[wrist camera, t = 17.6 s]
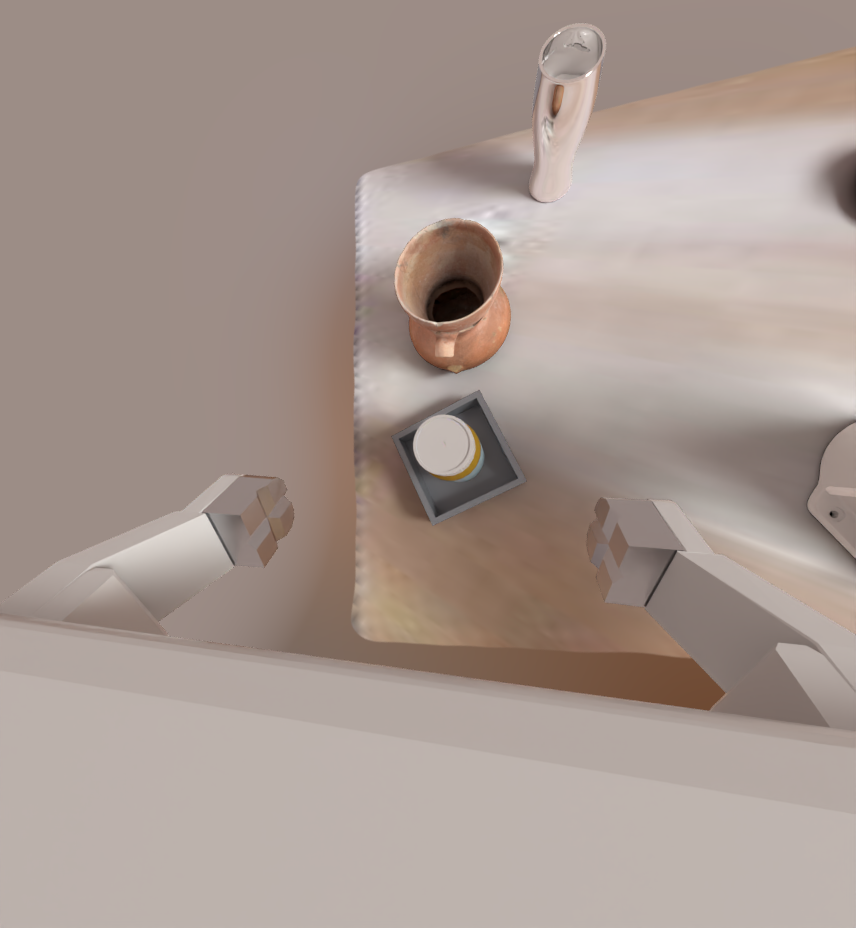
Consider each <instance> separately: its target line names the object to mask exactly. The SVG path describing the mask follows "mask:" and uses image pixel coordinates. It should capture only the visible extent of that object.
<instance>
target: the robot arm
mask: <svg viewBox="0 0 856 928" xmlns="http://www.w3.org/2000/svg"><path fill="white" fill-rule="evenodd" d="M286 491H287V488H286V485H285V483H284V481H283V480H282V479H280V478H278V477H266V476H254V475H241V474H226V475H223V476H221V477H220V478H219V479H218V480H217V481H215V483H213V484H212V485H211V486H210V487H209V488H208V489H206V490H205V491H204V492H203V493H202V494H201V495H200V496H198V497H197V498H196V499H195V500H194V501H193V502H191V503H190V504H189V505H188V506H187V507H186V508H184V509H183V510H182V511H175V512H172V513H170V514H168V515H165V516H163V517H161V518H158V519H156V520H154V521H151V522H149V523H146V524H144V525H142V526H139V527H137V528H135V529H132V530H130V531H128V532H125V533H123V534H121V535H118V536H116V537H113V538H111V539H109V540H107V541H104V542H102V543H99V544H97V545H95V546H92V547H90V548H88V549H85V550H83V551H81V552H78V553H76V554H73V555H71V556H69V557H66V558H64V559H62V560H59V561H57V562H56V563H54V564H53V565H52V566H50V567H49V568H48V569H46V570H45V571H43V572H42V573H41V574H39V575H38V576H37V577H35V578H34V579H33V580H31V581H30V582H29V583H27V584H26V585H25V586H23V587H22V588H21V589H19V590H18V591H16V592H15V593H14V594H12V595H11V596H10V597H8V598H7V599H6V600H4V601H3V602H2V603H0V928H856V634H854V633H852V632H851V631H849V630H847V629H846V628H844V627H842V626H841V625H839V624H837V623H836V622H834V621H832V620H831V619H829V618H827V617H826V616H824V615H822V614H821V613H819V612H817V611H816V610H814V609H812V608H811V607H809V606H807V605H806V604H804V603H802V602H801V601H799V600H797V599H796V598H794V597H792V596H791V595H789V594H787V593H786V592H784V591H782V590H781V589H779V588H777V587H776V586H774V585H773V584H771V583H769V582H768V581H766V580H764V579H763V578H761V577H759V576H758V575H756V574H754V573H753V572H751V571H749V570H748V569H746V568H744V567H743V566H741V565H739V564H738V563H736V562H734V561H733V560H731V559H729V558H728V557H726V556H724V555H722V554H714V553H713V551H712V550H711V549H710V547H709V546H708V545H707V543H706V542H705V541H704V539H703V538H702V537H701V535H700V534H699V533H698V531H697V530H696V529H695V527H694V526H693V525H692V523H691V522H690V521H689V519H688V518H687V517H686V515H685V514H684V513H683V511H682V510H681V509H680V507H679V506H678V505H677V504H676V503H675V502H673V501H671V500H653V499H647V500H639V499H621V498H603V497H601V498H600V499H599V500H598V502H597V504H596V507H595V513H596V515H597V518H598V519H596V520H595V521H593V522H592V523H591V524H590V526H589V529H588V533H587V551H588V555H589V558H590V561H591V563H592V564H594V565H595V566H596V567H597V568H598V569H599V570H598V573H597V576H596V579H597V582H598V585H599V588H600V591H601V594H602V597H603V600H604V602H606V603H614V604H622V605H630V606H638V607H645V610H646V611H647V612H648V613H649V614H650V615H651V616H652V617H653V618H654V619H655V620H656V621H657V622H658V623H659V624H660V625H661V626H662V627H663V628H664V630H665V631H666V632H667V633H668V634H669V635H670V636H671V637H672V638H673V639H674V640H675V641H676V642H677V643H678V644H679V645H680V646H681V647H682V648H683V649H684V650H685V651H686V652H687V653H688V654H689V655H690V656H691V657H692V658H693V659H694V660H695V661H696V662H697V663H698V665H700V666H701V667H702V668H703V670H704V671H705V672H706V673H707V674H708V675H709V676H710V677H711V678H712V679H713V680H714V681H715V682H716V683H717V684H718V685H719V686H720V687H721V688H722V689H723V690H724V691H725V692H726V694H725V695H724V696H723V697H722V698H721V699H720V700H719V701H718V702H717V703H716V704H715V705H714V706H713V707H712V708H711V709H710V711H706V710H699V709H691V708H685V707H677V706H670V705H663V704H655V703H648V702H641V701H634V700H627V699H619V698H612V697H605V696H597V695H590V694H583V693H576V692H569V691H561V690H555V689H547V688H540V687H533V686H526V685H518V684H510V683H504V682H497V681H490V680H482V679H475V678H467V677H460V676H454V675H446V674H439V673H432V672H424V671H417V670H410V669H403V668H396V667H388V666H382V665H375V664H367V663H360V662H352V661H346V660H338V659H331V658H323V657H317V656H309V655H302V654H295V653H288V652H280V651H273V650H265V649H259V648H250V647H244V646H237V645H230V644H222V643H215V642H208V641H200V640H193V639H186V638H179V637H171V636H168V633H167V632H166V630H165V629H164V628H163V627H162V626H161V625H160V623H159V621H160V620H161V619H163V618H164V617H166V616H167V615H168V614H170V613H171V612H172V611H174V610H175V609H177V608H178V607H180V606H181V605H182V604H184V603H185V602H187V601H188V600H189V599H191V598H192V597H193V596H195V595H196V594H198V593H199V592H200V591H202V590H203V589H205V588H206V587H207V586H209V585H210V584H212V583H213V582H214V581H216V580H217V579H219V578H220V577H221V576H223V575H224V574H225V573H227V572H228V571H230V570H231V569H232V568H234V566H235V565H236V566H248V567H262V568H265V566H266V565H267V563H268V562H269V560H270V559H271V558H272V556H273V555H274V553H275V552H276V550H277V549H278V545H277V541H278V540H280V539H282V538H283V537H285V536H287V534H288V532H289V531H290V529H291V527H292V524H293V520H294V509H293V505H292V503H291V502H290V501H289V500H288V499H287V498H286V497H285V496H284V495H285V493H286ZM807 507H808V510H809V511H810V512H811V514H812V515H813V516H814V517H815V518H816V519H817V520H818V521H819V522H820V523H821V524H822V525H823V526H824V527H825V528H826V529H827V530H828V531H829V532H830V533H831V534H832V535H833V536H834V537H835V538H836V539H837V540H838V541H839V542H840V543H841V544H842V545H843V546H844V547H845V548H846V549H847V550H848V551H849V552H850V553H851V554H852V555H853V556H854V558H855V559H856V422H855V423H853V424H851V425H849V426H848V427H846V428H845V429H843V430H842V431H841V432H840V433H838V434H837V435H836V436H835V437H834V438H833V440H832V441H831V442H830V444H829V445H828V447H827V448H826V450H825V452H824V455H823V458H822V461H821V466H820V477H819V482H818V485H817V486H816V488H815V489H814V491H813V492H812V494H811V496H810V498H809V500H808V503H807ZM830 512H832V514H833V515H832V517H831V516H830Z"/></svg>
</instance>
